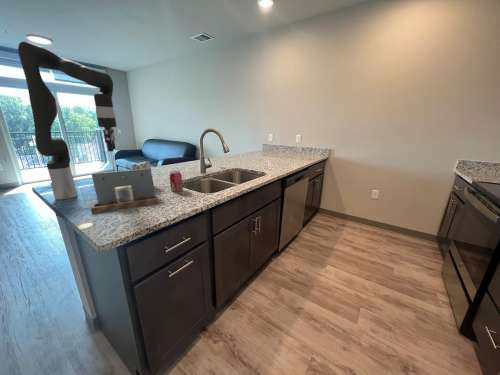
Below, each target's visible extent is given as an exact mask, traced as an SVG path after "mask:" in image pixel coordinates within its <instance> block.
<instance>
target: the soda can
mask: <svg viewBox="0 0 500 375" xmlns="http://www.w3.org/2000/svg"><path fill="white" fill-rule="evenodd" d="M169 182H170V190H171V191H172V192H175V193H176V192H177V193H178V192H181V191H182V190H183V189H184V188H183V186H184V185H183V178H182V173H181V171H180V170H173V171H170V173H169Z"/></svg>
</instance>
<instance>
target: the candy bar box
mask: <svg viewBox="0 0 500 375" xmlns="http://www.w3.org/2000/svg"><path fill="white" fill-rule="evenodd" d="M138 169H150V171H151V178H152V184H153V185H154V181H153V179H154V178H153V175H152V174H153V173H152V168H151V162H150V161H141V162H138V163H134V164H131V170H138Z"/></svg>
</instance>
